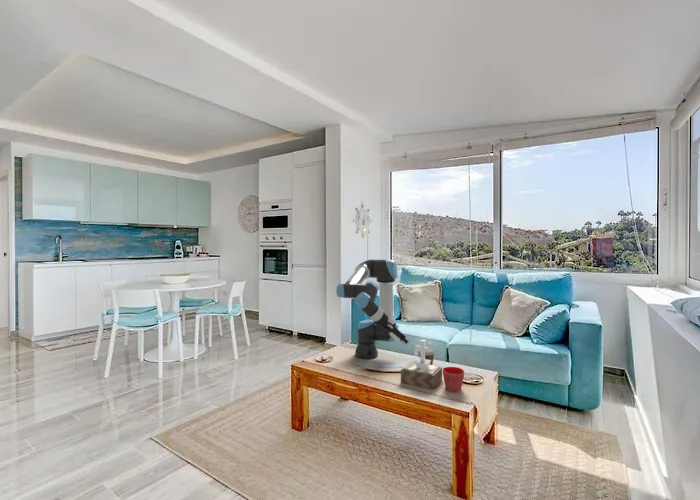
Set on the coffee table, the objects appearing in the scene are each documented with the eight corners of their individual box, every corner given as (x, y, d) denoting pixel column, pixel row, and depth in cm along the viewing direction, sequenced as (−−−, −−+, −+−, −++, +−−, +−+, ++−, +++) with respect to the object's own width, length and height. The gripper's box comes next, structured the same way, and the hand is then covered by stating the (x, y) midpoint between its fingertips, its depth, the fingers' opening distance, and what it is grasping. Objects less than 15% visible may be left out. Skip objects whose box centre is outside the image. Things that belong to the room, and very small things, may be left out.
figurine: (417, 364, 206) (417, 337, 205) (433, 367, 201) (433, 340, 200) (411, 367, 200) (412, 340, 199) (428, 371, 195) (428, 343, 194)
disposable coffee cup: (416, 370, 217) (416, 350, 216) (420, 366, 225) (421, 346, 225) (432, 373, 212) (432, 352, 212) (436, 368, 221) (436, 348, 220)
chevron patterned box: (400, 382, 199) (400, 368, 199) (410, 373, 212) (410, 360, 212) (433, 389, 190) (433, 374, 190) (441, 379, 203) (442, 366, 203)
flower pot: (451, 394, 184) (452, 375, 184) (438, 386, 194) (438, 368, 194) (468, 391, 188) (468, 372, 188) (454, 383, 198) (454, 365, 198)
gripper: (364, 317, 202) (389, 342, 208) (384, 327, 179) (411, 355, 185) (373, 307, 204) (397, 331, 210) (394, 316, 181) (420, 343, 186)
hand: (404, 342), depth 197 cm, fingers open, 13 cm apart
